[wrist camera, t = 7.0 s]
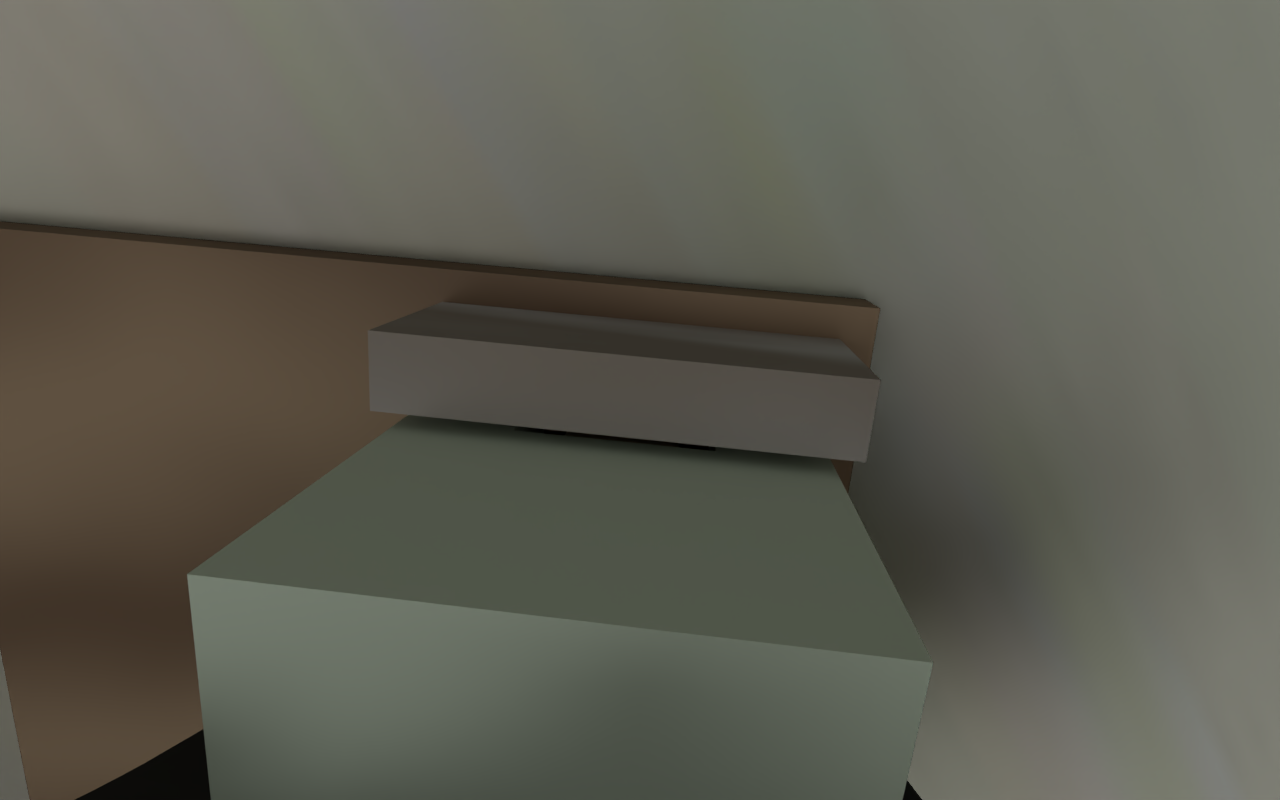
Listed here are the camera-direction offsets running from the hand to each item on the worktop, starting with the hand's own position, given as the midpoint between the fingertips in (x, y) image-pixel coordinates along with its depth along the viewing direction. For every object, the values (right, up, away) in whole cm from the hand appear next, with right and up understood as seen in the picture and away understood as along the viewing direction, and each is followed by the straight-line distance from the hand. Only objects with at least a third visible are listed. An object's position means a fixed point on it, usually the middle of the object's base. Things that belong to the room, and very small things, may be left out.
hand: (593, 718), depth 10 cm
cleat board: (-4, 0, +4) cm, 5 cm away
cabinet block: (0, +1, +2) cm, 2 cm away
